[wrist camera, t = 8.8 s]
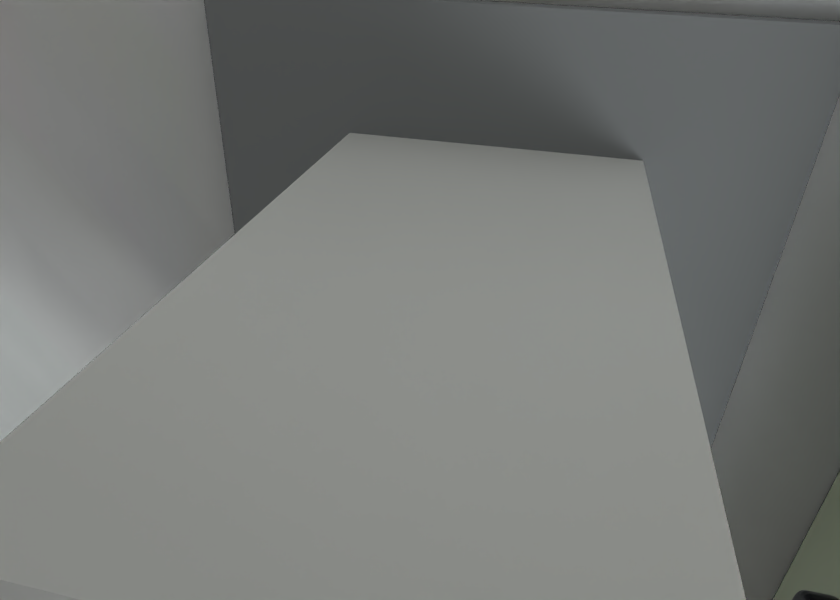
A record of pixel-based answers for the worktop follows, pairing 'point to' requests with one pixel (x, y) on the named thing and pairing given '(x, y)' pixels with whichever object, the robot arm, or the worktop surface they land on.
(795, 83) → the rubber mat
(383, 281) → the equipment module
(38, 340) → the worktop surface
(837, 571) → the case
